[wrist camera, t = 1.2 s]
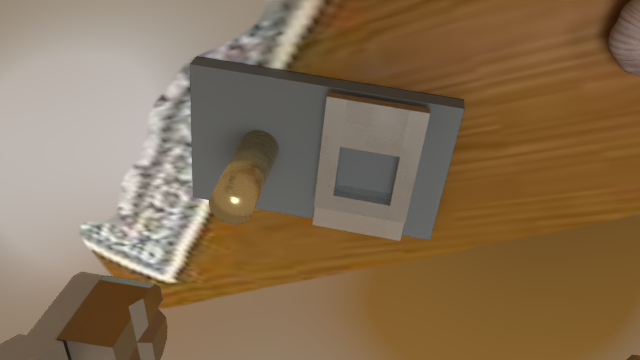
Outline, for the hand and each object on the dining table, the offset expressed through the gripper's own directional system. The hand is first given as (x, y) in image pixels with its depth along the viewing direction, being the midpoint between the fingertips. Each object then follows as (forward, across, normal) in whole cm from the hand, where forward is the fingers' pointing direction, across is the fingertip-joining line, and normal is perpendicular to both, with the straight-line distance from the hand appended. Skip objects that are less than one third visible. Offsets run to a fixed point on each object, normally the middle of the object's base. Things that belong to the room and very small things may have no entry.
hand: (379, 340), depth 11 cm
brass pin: (+32, +11, +15) cm, 37 cm away
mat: (+33, +7, +16) cm, 37 cm away
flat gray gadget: (+32, +3, +16) cm, 36 cm away
